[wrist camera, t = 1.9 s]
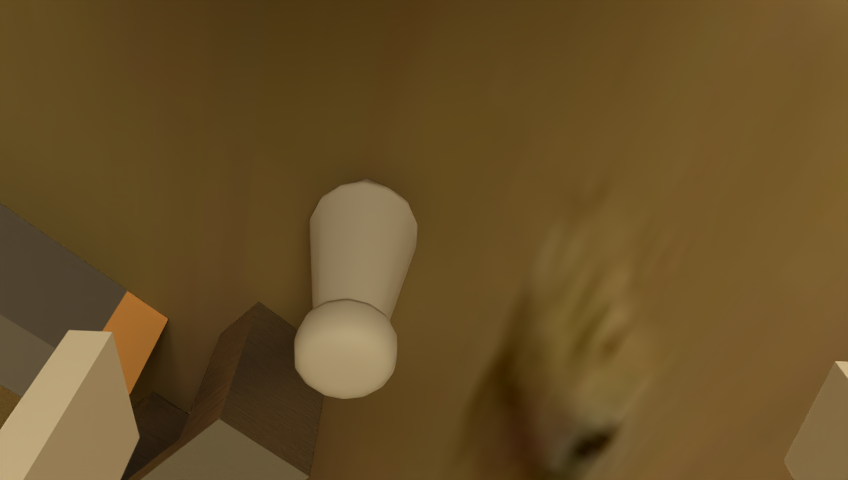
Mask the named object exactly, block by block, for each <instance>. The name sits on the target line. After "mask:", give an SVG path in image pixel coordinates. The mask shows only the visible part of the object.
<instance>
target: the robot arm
mask: <svg viewBox="0 0 848 480" xmlns="http://www.w3.org/2000/svg"><path fill="white" fill-rule="evenodd" d="M139 438H140V437H139V433H138V429H137V425H136V422H135V418H134V414H133V410H132V406H131V402H130V398H129V394H128V391H127V387H126V383H125V379H124V375H123V371H122V367H121V363H120V359H119V356H118V352H117V348H116V344H115V340H114V336H113V332H102V331H78V330H69V331H68V332H67V333H66V335H65V336H64V338H63V339H62V341H61V342H60V344H59V345H58V346H57V348H56V349H55V351H54V352H53V354H52V355H51V357H50V358H49V360H48V361H47V362H46V364H45V365H44V367H43V368H42V370H41V371H40V373H39V374H38V375H37V377H36V378H35V380H34V381H33V383H32V384H31V386H30V387H29V389H28V390H27V391H26V393H25V394H24V396H23V397H22V399H21V400H20V402H19V403H18V404H17V406H16V407H15V409H14V410H13V412H12V413H11V415H10V416H9V418H8V419H7V420H6V422H5V423H4V425H3V426H2V428H1V429H0V480H120V479H121V477H122V475H123V473H124V471H125V468H126V466H127V464H128V462H129V460H130V457H131V455H132V453H133V451H134V449H135V447H136V444H137V442H138V440H139ZM784 463H785V465H786V466H787V468H788V470H789V472H790V474H791V475H792V477H793V479H794V480H848V362H838V361H835V363H834V364H833V366H832V368H831V370H830V372H829V374H828V376H827V378H826V380H825V382H824V384H823V386H822V388H821V389H820V391H819V393H818V395H817V397H816V399H815V401H814V403H813V405H812V407H811V409H810V411H809V412H808V414H807V416H806V418H805V420H804V422H803V424H802V426H801V428H800V430H799V432H798V434H797V436H796V437H795V439H794V441H793V443H792V445H791V447H790V449H789V451H788V453H787V455H786V457H785V459H784Z"/></svg>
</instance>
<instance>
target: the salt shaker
mask: <svg viewBox="0 0 848 480" xmlns="http://www.w3.org/2000/svg"><path fill="white" fill-rule="evenodd" d="M416 244H417V223H416V220H415V218H414V216H413V213H412V211H411V209H410V207H409V204H408V202H407V201H406V200H405V199H404V198H403V197H401V196H400V195H399V194H398V193H397V192H395V191H393V190H391V189H390V188H388V187H386V186H383V185H381V184H379V183H377V182H375V181H373V180H371V179H369V178H366V179H363V180H360V181H358V182H355V183H349V184H343V185H340V186H339V187H337V188H335V189H334V190H332V191H331V192H329V193H327V194H326V195H324V196H323V197H322V198H321V200H320V201H319V203H318V205H317V207H316V209H315V211H314V213H313V214H312V216H311V218H310V252H311V278H312V303H313V310H311V311H310V312H309V313H308V314H307V315H306V317H305V318H304V320H303V322H302V324H301V325H300V327H299V329H298V331H297V334H296V337H295V340H294V349H295V369H296V370H297V372H298V373H299V374H300V376H301V377H302V379H303V380H304V382H305V383H306V384H308V385H309V386H311V387H312V388H314V389H316V390H317V391H319V392H320V393H322V394H324V395H326V396H331V397H335V398H340V399H348V398H358V397H364V396H367V395H368V394H370V393H372V392H374V391H376V390H378V389H380V388H382V387H383V386H384V385H385V383H386V382H387V381H388V379H389V378H390V377H391V375H392V374H393V372H394V369H395V366H396V362H397V335H396V333H395V331H394V329H393V327H392V325H391V323H390V319H391V316H392V314H393V311H394V308H395V305H396V302H397V300H398V297H399V294H400V291H401V288H402V286H403V283H404V280H405V277H406V274H407V271H408V269H409V266H410V263H411V260H412V257H413V255H414V252H415V249H416Z"/></svg>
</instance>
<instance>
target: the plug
mask: <svg viewBox="0 0 848 480" xmlns="http://www.w3.org/2000/svg"><path fill="white" fill-rule="evenodd" d="M167 321H168V319H167V318H166V317H165V316H163V315H162V314H160V313H159V312H157V311H156V310H154V309H153V308H151V307H150V306H149V305H147V304H146V303H144V302H143V301H141V300H140V299H138V298H137V297H136V296H134V295H133V294H131V293H130V292H128V291H127V290H125V289H124V288H122V287H121V286H120V285H118V284H117V283H115V282H114V281H112V280H111V279H109V278H108V277H106V276H105V275H104V274H102V273H101V272H99V271H98V270H96V269H95V268H93V267H92V266H90V265H89V264H88V263H86V262H85V261H83V260H82V259H80V258H79V257H77V256H76V255H75V254H73V253H72V252H70V251H69V250H67V249H66V248H64V247H63V246H61V245H60V244H59V243H57V242H56V241H54V240H53V239H51V238H50V237H48V236H47V235H45V234H44V233H43V232H41V231H40V230H38V229H37V228H35V227H34V226H32V225H31V224H30V223H28V222H27V221H25V220H24V219H22V218H21V217H19V216H18V215H16V214H15V213H14V212H12V211H11V210H9V209H8V208H6V207H5V206H3V205H2V204H0V385H1V386H3V387H5V388H6V389H8V390H10V391H12V392H13V393H15V394H17V395H19V396H20V397H23V396H24V394H25V393H26V391H27V390H28V389H29V387H30V386H31V384H32V383H33V381H34V380H35V378H36V377H37V375H38V374H39V373H40V371H41V370H42V368H43V367H44V365H45V364H46V362H47V361H48V360H49V358H50V357H51V355H52V354H53V352H54V351H55V349H56V348H57V346H58V345H59V344H60V342H61V341H62V339H63V338H64V336H65V335H66V333H67V332H68V331H69V330H78V331H102V332H113V336H114V340H115V344H116V348H117V352H118V356H119V359H120V363H121V367H122V371H123V375H124V379H125V383H126V387H127V391H128V394H129V395H130V393H131V391H132V389H133V387H134V385H135V383H136V381H137V379H138V377H139V375H140V373H141V371H142V369H143V367H144V366H145V364H146V362H147V360H148V358H149V356H150V354H151V352H152V350H153V348H154V346H155V344H156V342H157V340H158V338H159V336H160V334H161V332H162V330H163V328H164V326H165V324H166V323H167Z"/></svg>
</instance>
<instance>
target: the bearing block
mask: <svg viewBox="0 0 848 480" xmlns="http://www.w3.org/2000/svg"><path fill="white" fill-rule="evenodd" d="M296 334H297V330H296V329H294V328H293V327H292V326H290V325H289V324H288V323H286V322H285V321H284V320H282V319H281V318H280V317H278V316H277V315H276V314H274V313H273V312H272V311H270V310H269V309H268V308H266V307H265V306H264V305H262V304H261V303H260V302H258V303H257V304H256V305H255V306H253V307H252V308H251V309H250V310H249V311H248V312H246V313H245V314H244V315H243V316H242V317H240V318H239V319H238V320H237V321H236V322H235V323H233V324H232V325H231V326H230V327H229V328H227V329H226V330H225V331H224V332H223V333H222V334H221V335H220V338H219V340H218V343H217V346H216V348H215V351H214V353H213V356H212V358H211V361H210V363H209V366H208V368H207V371H206V374H205V376H204V379H203V381H202V384H201V386H200V389H199V391H198V394H197V396H196V399H195V402H194V404H193V407H192V409H191V412H190V414H189V415H188V414H187V413H185V412H183V411H182V410H180V409H179V408H177V407H175V406H174V405H172V404H171V403H169V402H168V401H166V400H164V399H163V398H161V397H160V396H158V395H156V394H155V393H153V392H152V393H151V394H149V395H148V396H147V397H146V398H145V399H143V400H142V401H141V402H140V403H139V404H138V405H136V406H135V407H134V408H133V409H132V410H133V414H134V418H135V422H136V425H137V429H138V433H139V437H140V438H139V440H138V442H137V444H136V447H135V449H134V451H133V453H132V455H131V457H130V460H129V462H128V464H127V466H126V468H125V471H124V473H123V475H122V477H121V479H120V480H306V479H307V478H309V477H310V471H311V465H312V459H313V453H314V448H315V442H316V436H317V430H318V424H319V419H320V413H321V407H322V401H323V395H324V394H322V393H320V392H319V391H317V390H316V389H314V388H312V387H311V386H309V385H308V384H306V383H305V382H304V380H303V379H302V377H301V376H300V374H299V373H298V372H297V370H296V369H295V349H294V340H295V337H296Z"/></svg>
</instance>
